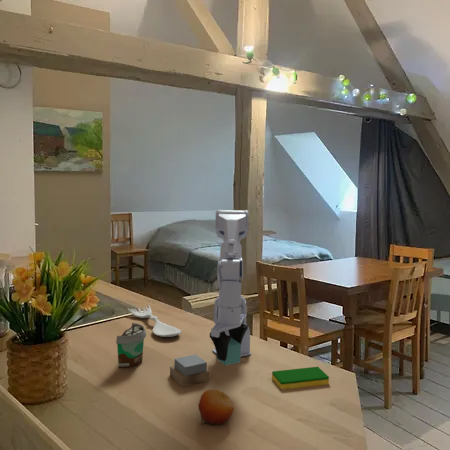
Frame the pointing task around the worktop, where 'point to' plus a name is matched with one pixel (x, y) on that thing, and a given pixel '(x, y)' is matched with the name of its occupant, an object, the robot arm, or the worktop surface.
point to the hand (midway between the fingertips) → (228, 355)
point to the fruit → (215, 407)
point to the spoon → (159, 327)
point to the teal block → (232, 353)
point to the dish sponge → (300, 378)
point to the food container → (131, 347)
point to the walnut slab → (188, 377)
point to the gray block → (190, 365)
